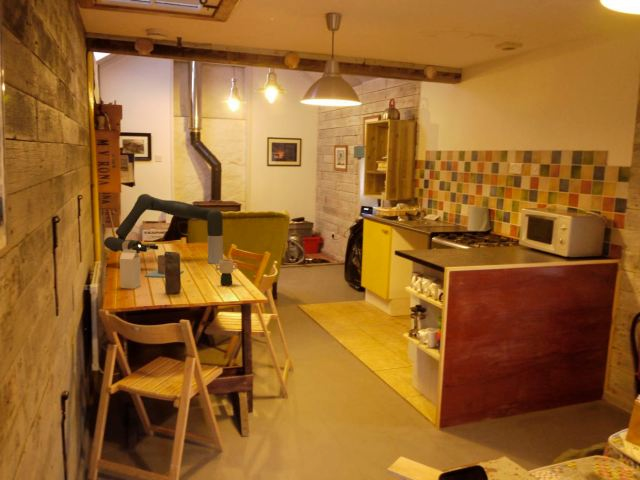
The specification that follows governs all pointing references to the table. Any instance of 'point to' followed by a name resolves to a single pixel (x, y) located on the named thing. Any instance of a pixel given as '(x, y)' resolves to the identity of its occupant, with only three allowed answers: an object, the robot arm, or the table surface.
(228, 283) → the character mug
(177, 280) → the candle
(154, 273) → the slate-blue mat
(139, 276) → the milk carton
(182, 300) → the table surface
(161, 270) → the walnut block
